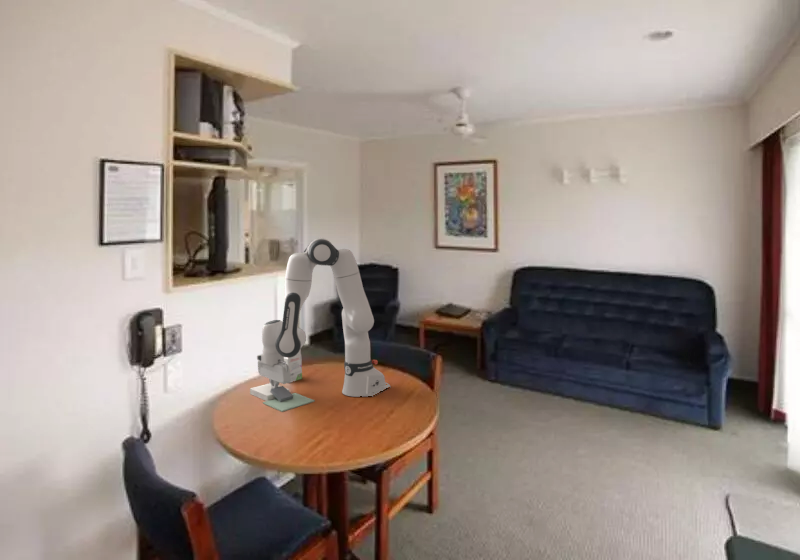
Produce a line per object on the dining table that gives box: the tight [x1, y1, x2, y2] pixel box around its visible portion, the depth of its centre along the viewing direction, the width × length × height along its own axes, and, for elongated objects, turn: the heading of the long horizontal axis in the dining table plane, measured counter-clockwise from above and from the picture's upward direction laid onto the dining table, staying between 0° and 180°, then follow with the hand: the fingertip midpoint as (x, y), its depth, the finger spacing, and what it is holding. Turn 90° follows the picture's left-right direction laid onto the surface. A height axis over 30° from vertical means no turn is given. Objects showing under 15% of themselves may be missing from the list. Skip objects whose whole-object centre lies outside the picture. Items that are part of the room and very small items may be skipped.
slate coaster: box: [270, 385, 293, 402], centre depth 209 cm, size 6×8×2 cm
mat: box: [262, 392, 316, 413], centre depth 206 cm, size 16×14×1 cm
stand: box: [249, 382, 291, 402], centre depth 216 cm, size 11×14×2 cm
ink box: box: [284, 348, 303, 384], centre depth 235 cm, size 9×5×15 cm, turn 144°
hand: (274, 389), depth 213 cm, fingers closed
